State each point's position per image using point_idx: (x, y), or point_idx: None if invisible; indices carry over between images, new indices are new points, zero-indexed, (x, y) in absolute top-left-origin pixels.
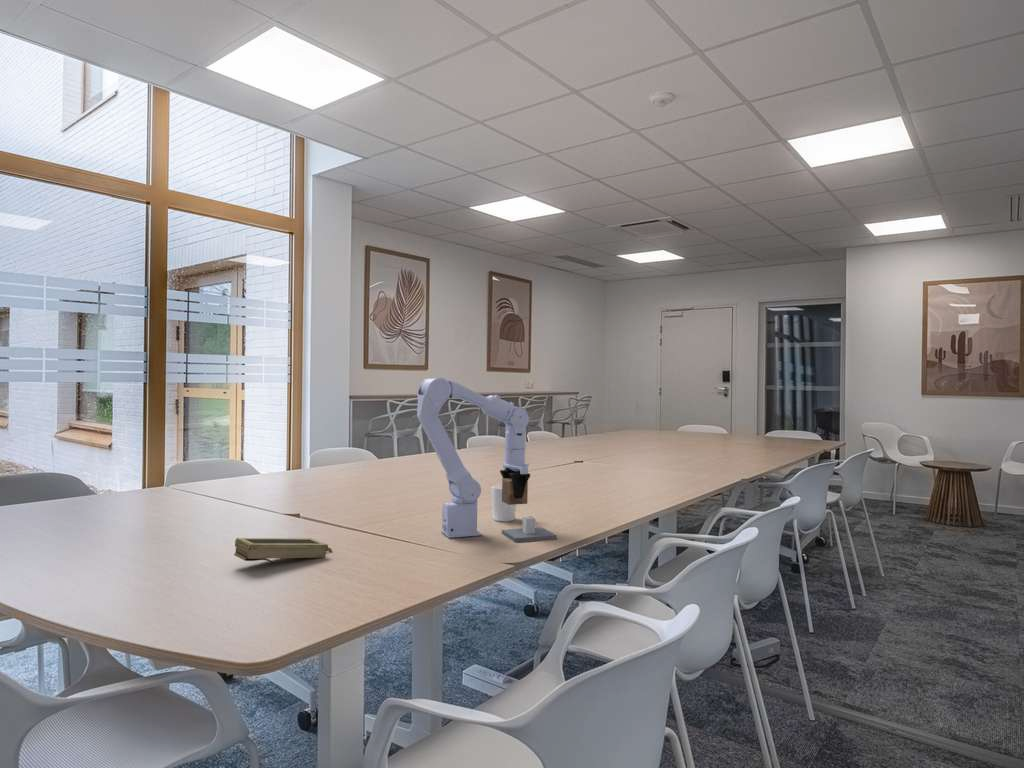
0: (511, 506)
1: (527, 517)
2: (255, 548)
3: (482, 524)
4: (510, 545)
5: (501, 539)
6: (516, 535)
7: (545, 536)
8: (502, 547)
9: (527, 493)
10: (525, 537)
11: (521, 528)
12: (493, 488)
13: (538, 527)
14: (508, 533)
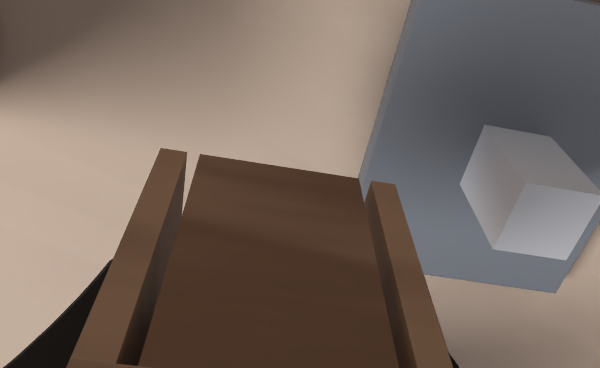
0: None
1: (530, 228)
2: None
3: (49, 232)
4: (574, 318)
5: (448, 301)
6: (510, 258)
7: None
8: (572, 356)
9: (419, 262)
10: (585, 241)
11: (378, 143)
12: None
13: (431, 8)
14: (440, 271)
